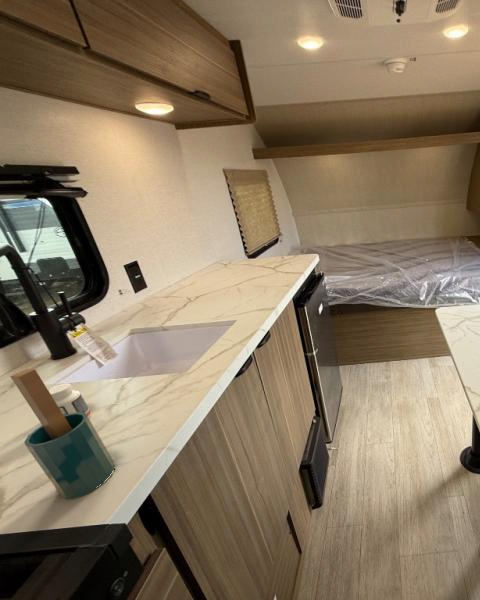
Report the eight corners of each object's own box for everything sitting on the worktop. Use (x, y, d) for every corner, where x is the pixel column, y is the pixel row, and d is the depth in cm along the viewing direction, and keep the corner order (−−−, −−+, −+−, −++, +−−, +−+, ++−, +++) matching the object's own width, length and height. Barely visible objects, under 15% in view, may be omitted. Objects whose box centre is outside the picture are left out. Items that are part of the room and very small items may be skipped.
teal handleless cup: (50, 495, 55) (12, 443, 50) (96, 459, 61) (67, 410, 57) (81, 502, 53) (45, 449, 48) (125, 464, 60) (97, 414, 55)
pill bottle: (88, 409, 76) (71, 378, 72) (94, 417, 73) (76, 385, 70) (58, 423, 72) (38, 391, 68) (63, 432, 69) (42, 399, 66)
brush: (67, 483, 56) (-4, 379, 47) (92, 463, 59) (30, 364, 51) (83, 486, 55) (14, 381, 46) (108, 466, 58) (47, 365, 50)
